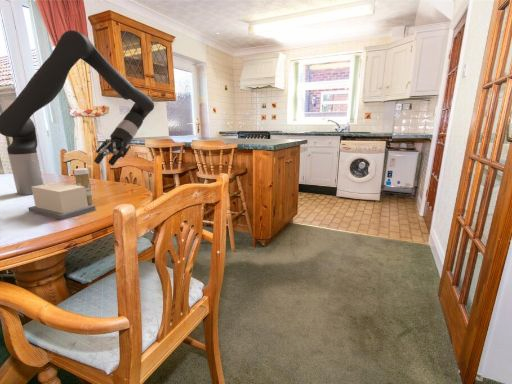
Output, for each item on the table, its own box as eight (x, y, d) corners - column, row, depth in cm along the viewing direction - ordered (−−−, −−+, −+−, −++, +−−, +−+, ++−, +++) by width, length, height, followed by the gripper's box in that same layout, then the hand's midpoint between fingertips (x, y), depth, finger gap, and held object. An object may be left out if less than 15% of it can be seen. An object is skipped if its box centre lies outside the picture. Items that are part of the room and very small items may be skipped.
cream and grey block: (29, 211, 89) (23, 187, 87) (63, 203, 99) (59, 181, 97) (62, 220, 82) (57, 193, 80) (95, 210, 91) (92, 186, 89)
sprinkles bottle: (93, 204, 98) (88, 169, 95) (79, 206, 96) (73, 170, 93) (93, 201, 102) (87, 167, 99) (79, 203, 100) (73, 168, 96)
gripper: (106, 126, 110) (84, 156, 103) (130, 127, 104) (108, 158, 97) (119, 138, 116) (98, 167, 109) (142, 139, 110) (122, 170, 103)
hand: (103, 163), depth 103 cm, fingers open, 8 cm apart
